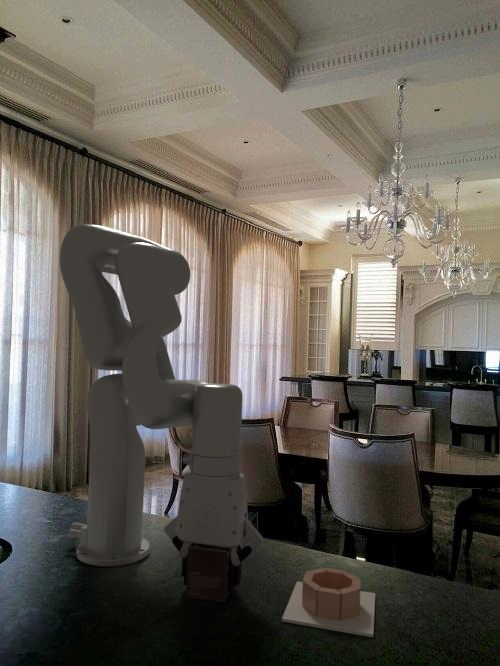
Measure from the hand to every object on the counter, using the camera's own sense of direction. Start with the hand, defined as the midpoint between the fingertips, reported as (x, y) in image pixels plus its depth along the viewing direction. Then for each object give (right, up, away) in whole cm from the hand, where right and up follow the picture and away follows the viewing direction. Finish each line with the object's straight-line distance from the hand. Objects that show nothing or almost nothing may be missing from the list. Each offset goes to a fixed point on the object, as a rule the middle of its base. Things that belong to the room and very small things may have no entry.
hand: (210, 584), depth 76 cm
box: (0, -1, 0) cm, 1 cm away
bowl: (+18, -2, -4) cm, 18 cm away
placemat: (+18, -2, -4) cm, 18 cm away
